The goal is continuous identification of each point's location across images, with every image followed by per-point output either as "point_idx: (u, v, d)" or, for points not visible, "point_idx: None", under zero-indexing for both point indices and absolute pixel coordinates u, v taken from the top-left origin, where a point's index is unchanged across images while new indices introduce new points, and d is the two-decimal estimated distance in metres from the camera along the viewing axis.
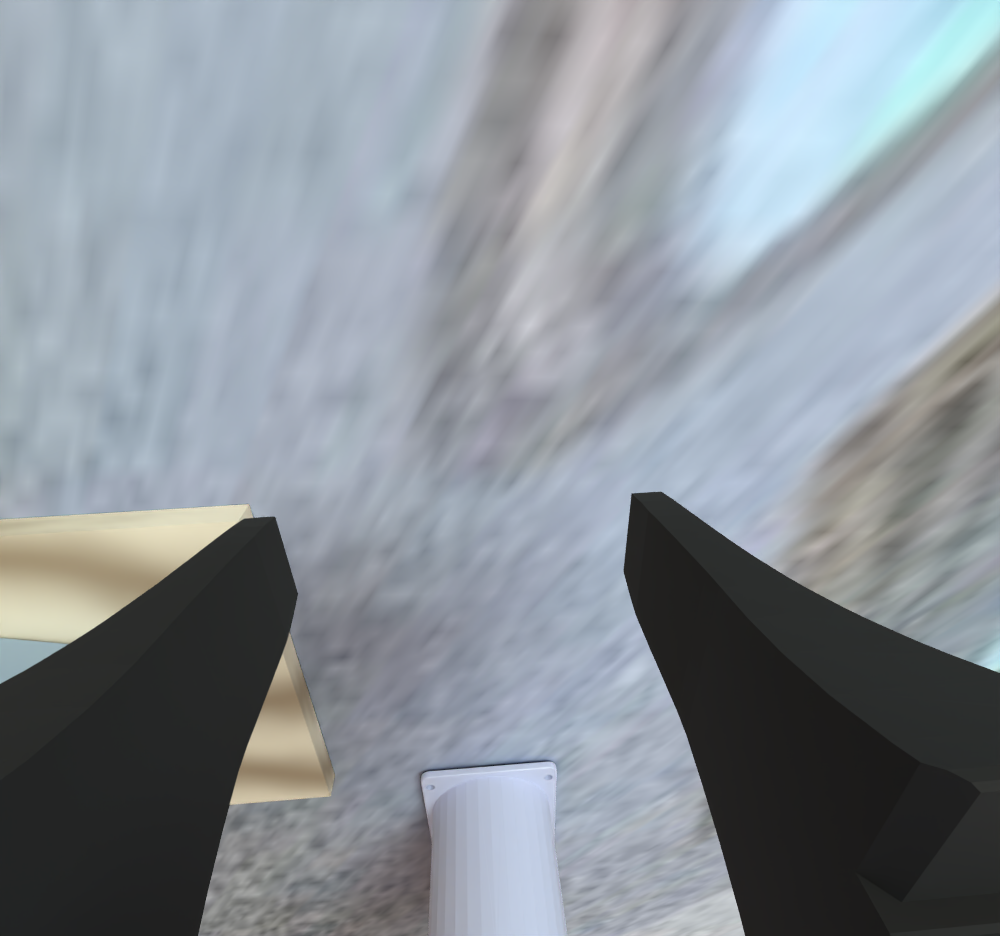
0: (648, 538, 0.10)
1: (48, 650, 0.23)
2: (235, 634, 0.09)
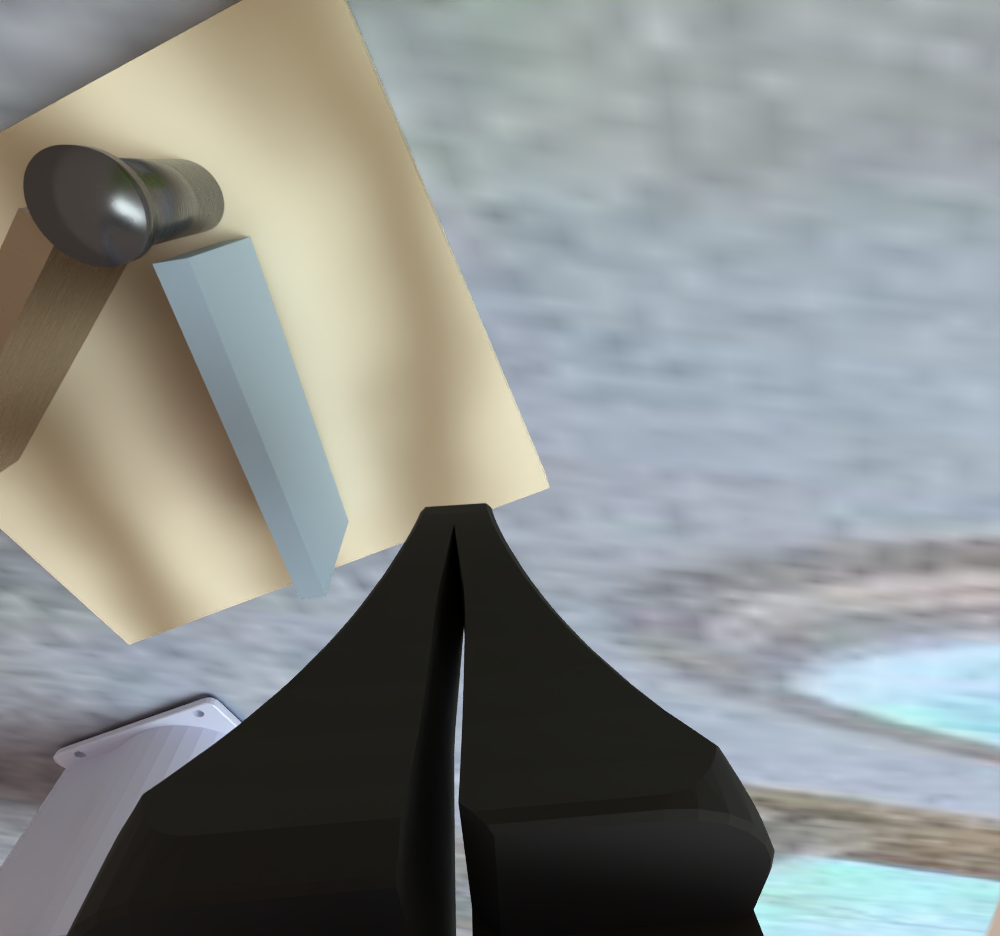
0: (457, 551, 0.10)
1: (274, 322, 0.16)
2: (451, 618, 0.09)
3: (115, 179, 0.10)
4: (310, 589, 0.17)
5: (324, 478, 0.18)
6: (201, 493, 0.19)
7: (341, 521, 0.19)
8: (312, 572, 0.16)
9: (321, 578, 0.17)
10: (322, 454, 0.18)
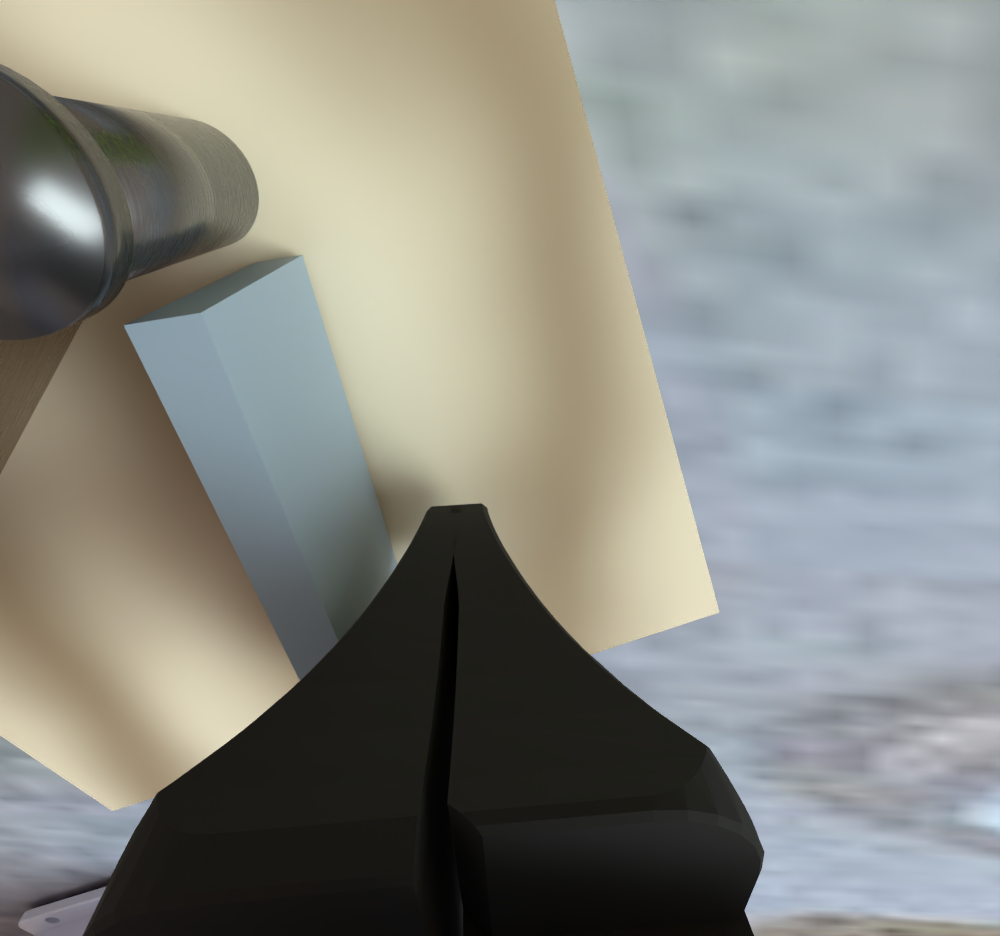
0: None
1: (338, 394, 0.10)
2: (458, 617, 0.09)
3: (21, 132, 0.04)
4: None
5: None
6: (214, 629, 0.13)
7: None
8: None
9: None
10: None
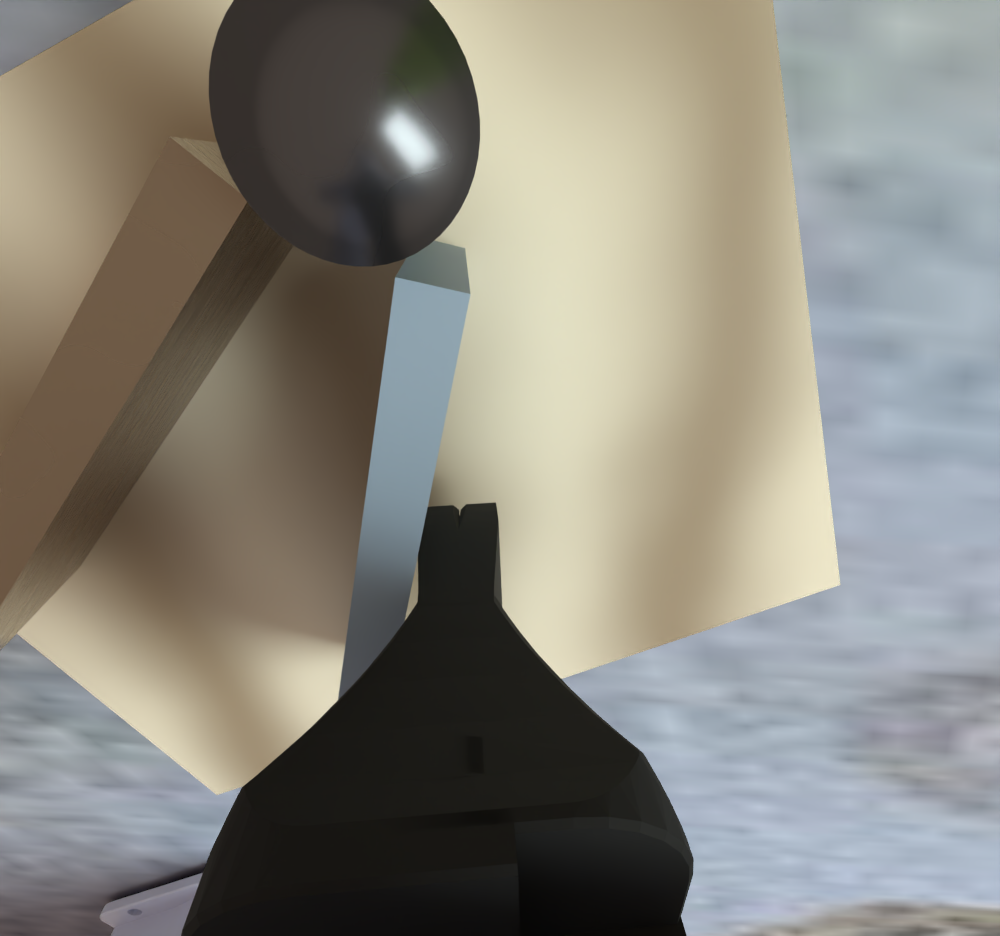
0: None
1: None
2: None
3: (434, 50, 0.04)
4: None
5: None
6: (345, 604, 0.13)
7: None
8: None
9: None
10: None
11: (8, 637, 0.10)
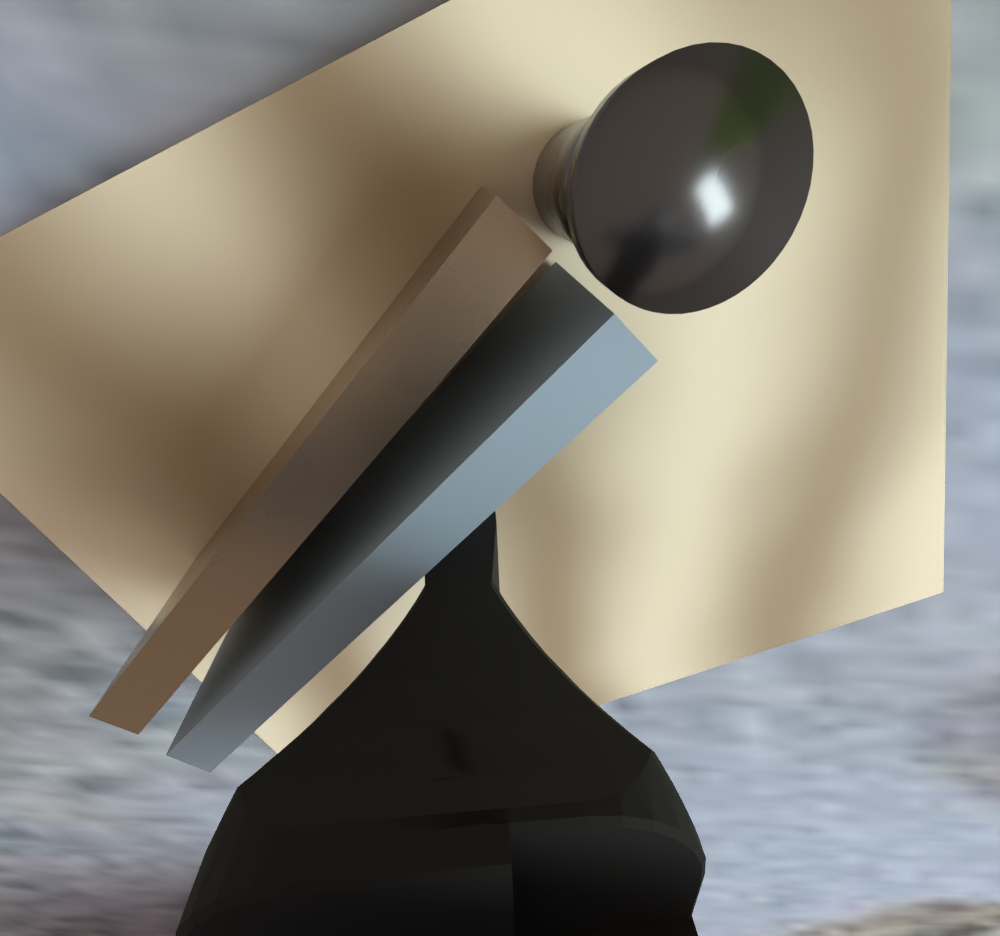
0: None
1: None
2: None
3: (786, 126, 0.05)
4: (200, 754, 0.09)
5: None
6: None
7: None
8: (235, 741, 0.09)
9: (230, 745, 0.09)
10: None
11: None
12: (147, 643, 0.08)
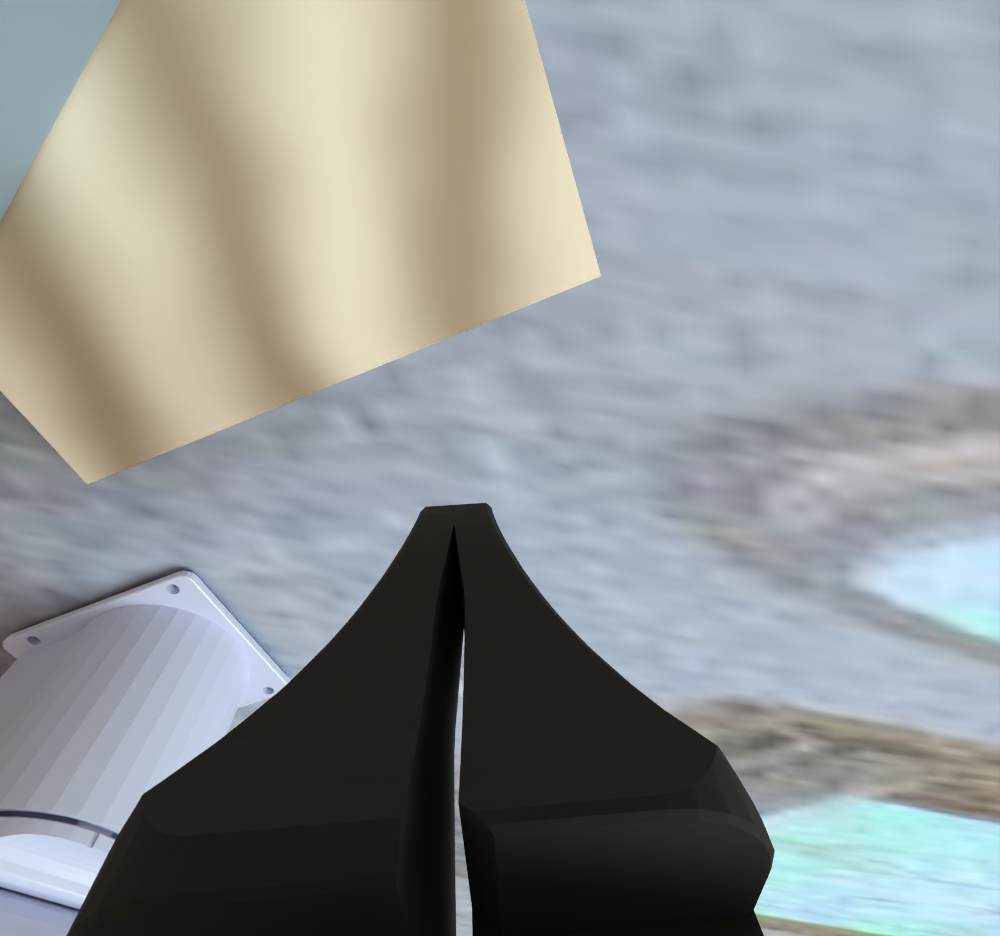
0: (457, 551, 0.10)
1: None
2: (451, 618, 0.09)
3: None
4: None
5: (5, 170, 0.13)
6: (173, 264, 0.16)
7: None
8: None
9: None
10: (30, 149, 0.14)
11: None
12: None
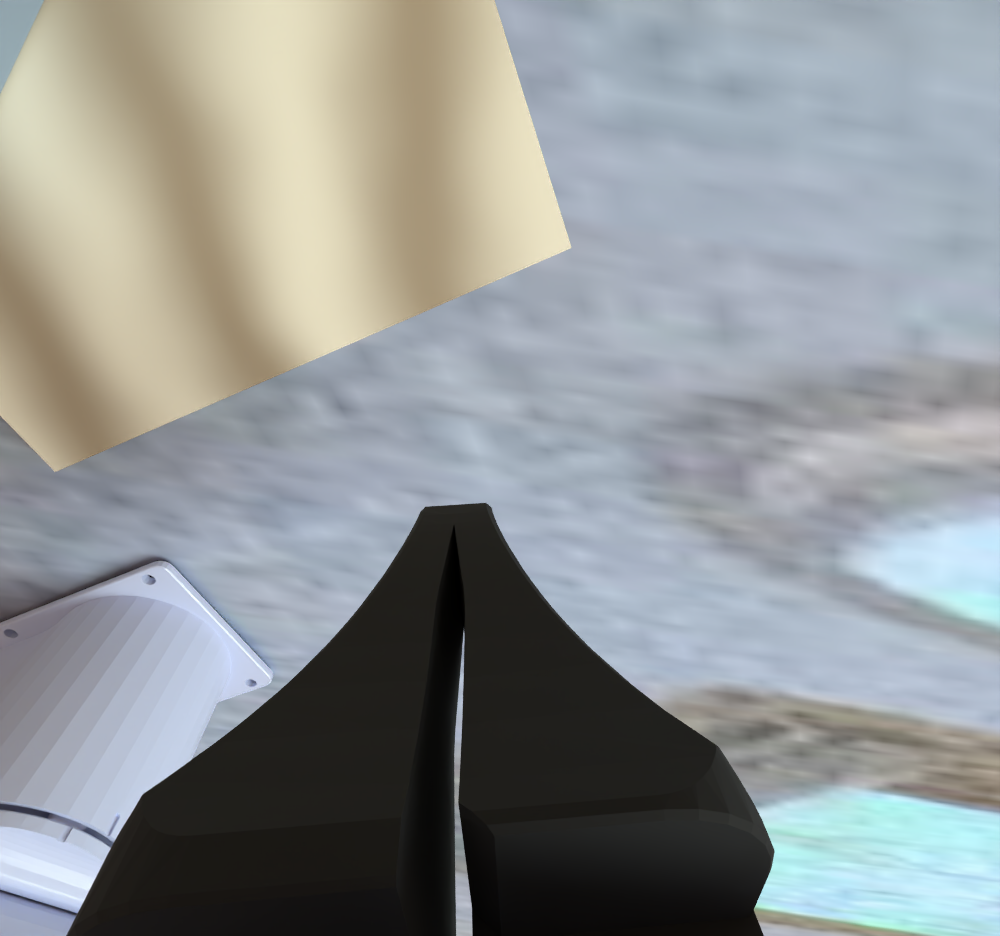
0: (457, 551, 0.10)
1: None
2: (450, 618, 0.09)
3: None
4: None
5: None
6: (130, 242, 0.15)
7: None
8: None
9: None
10: None
11: None
12: None
